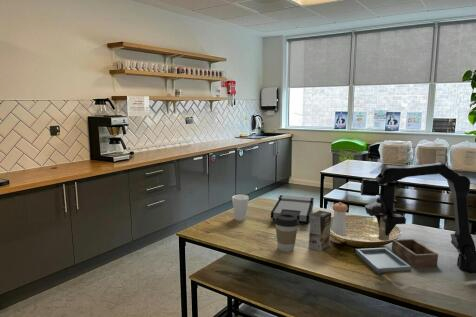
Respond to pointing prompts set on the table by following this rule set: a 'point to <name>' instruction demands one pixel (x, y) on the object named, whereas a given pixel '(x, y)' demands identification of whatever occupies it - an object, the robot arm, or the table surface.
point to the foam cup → (240, 206)
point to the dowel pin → (382, 230)
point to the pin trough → (414, 253)
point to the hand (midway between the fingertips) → (384, 233)
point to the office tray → (294, 207)
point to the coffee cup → (286, 231)
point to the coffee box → (319, 230)
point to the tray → (382, 260)
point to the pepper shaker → (339, 220)
